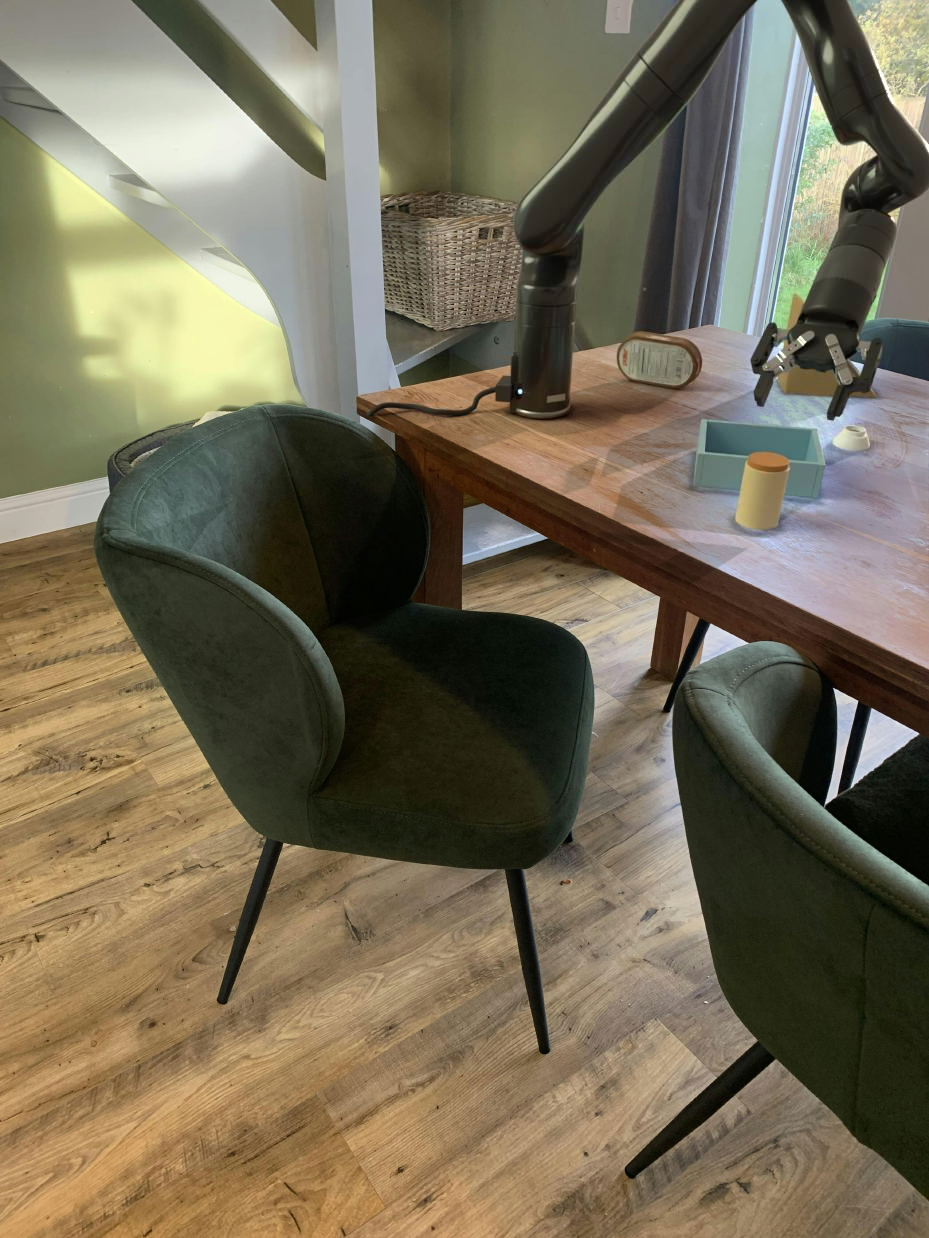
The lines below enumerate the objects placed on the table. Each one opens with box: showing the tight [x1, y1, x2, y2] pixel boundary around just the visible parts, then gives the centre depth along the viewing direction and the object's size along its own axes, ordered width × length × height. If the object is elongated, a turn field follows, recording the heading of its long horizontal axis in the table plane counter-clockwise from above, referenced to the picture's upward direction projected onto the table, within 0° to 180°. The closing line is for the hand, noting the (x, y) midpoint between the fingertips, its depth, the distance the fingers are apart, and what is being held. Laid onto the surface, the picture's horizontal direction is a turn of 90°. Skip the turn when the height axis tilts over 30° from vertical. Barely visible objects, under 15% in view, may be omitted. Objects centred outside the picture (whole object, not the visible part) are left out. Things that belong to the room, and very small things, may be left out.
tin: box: [616, 330, 703, 390], centre depth 152 cm, size 15×3×8 cm, turn 58°
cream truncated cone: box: [832, 424, 871, 452], centre depth 127 cm, size 5×3×5 cm
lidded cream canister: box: [734, 452, 790, 531], centre depth 104 cm, size 5×5×8 cm
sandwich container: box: [776, 292, 878, 399], centre depth 148 cm, size 9×15×15 cm, turn 82°
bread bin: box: [692, 418, 826, 499], centre depth 118 cm, size 16×14×5 cm
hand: (794, 410), depth 106 cm, fingers open, 8 cm apart
